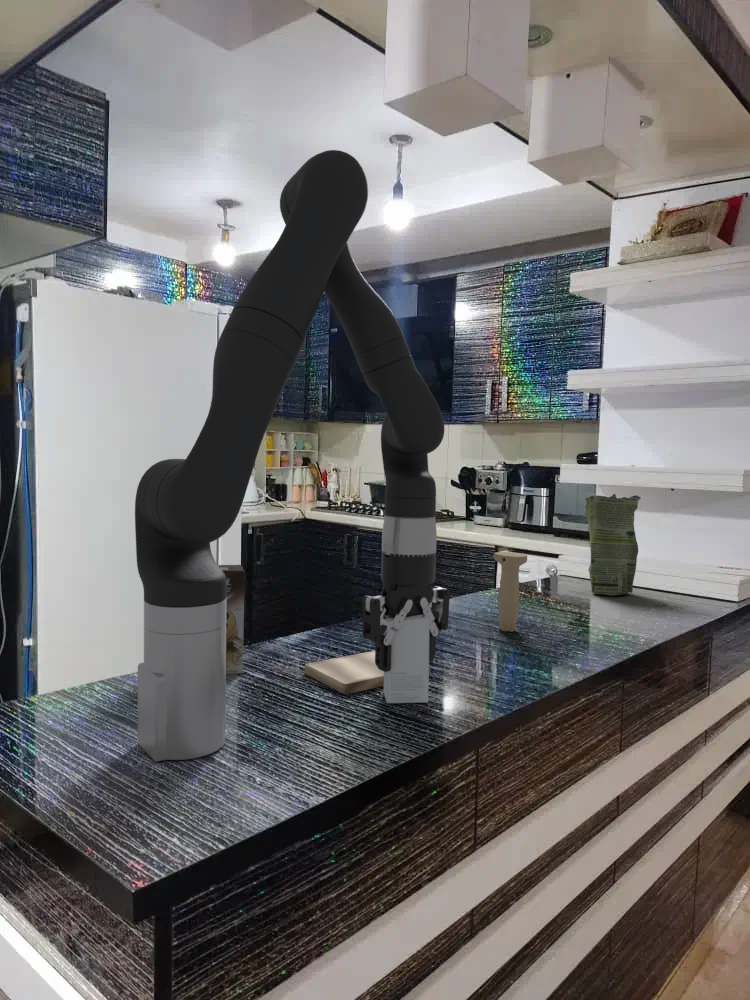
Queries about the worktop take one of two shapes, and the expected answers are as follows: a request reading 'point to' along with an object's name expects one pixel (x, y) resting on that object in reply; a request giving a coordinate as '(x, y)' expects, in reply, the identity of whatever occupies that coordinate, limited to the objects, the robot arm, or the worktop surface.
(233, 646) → the coffee box
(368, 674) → the birch board
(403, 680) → the skincare box
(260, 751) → the worktop surface
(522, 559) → the handle
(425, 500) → the robot arm
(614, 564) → the pouch
